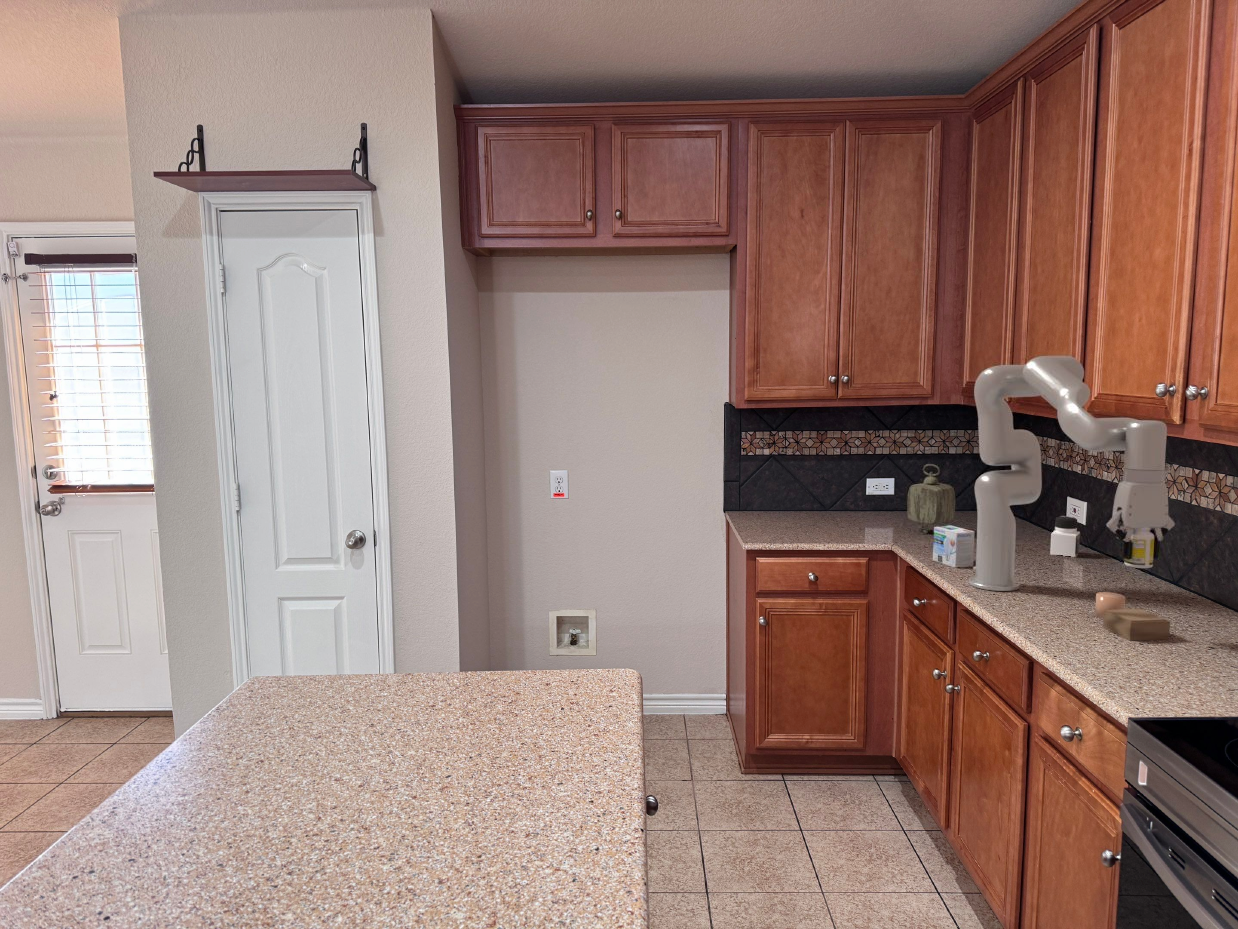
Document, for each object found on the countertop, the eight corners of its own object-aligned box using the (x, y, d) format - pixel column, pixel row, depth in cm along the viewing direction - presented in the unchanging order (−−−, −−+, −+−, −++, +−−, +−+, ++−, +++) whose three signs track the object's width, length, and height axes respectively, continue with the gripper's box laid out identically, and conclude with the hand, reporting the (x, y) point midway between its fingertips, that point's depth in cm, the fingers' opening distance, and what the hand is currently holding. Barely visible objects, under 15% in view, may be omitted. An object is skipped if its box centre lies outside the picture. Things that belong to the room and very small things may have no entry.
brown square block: (1102, 627, 188) (1103, 609, 188) (1140, 626, 189) (1141, 608, 188) (1129, 640, 179) (1130, 621, 179) (1168, 639, 180) (1170, 620, 179)
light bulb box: (932, 560, 255) (933, 526, 254) (950, 558, 257) (951, 524, 256) (955, 568, 245) (957, 532, 244) (974, 566, 247) (975, 531, 246)
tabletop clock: (954, 534, 293) (956, 465, 290) (938, 537, 288) (940, 467, 285) (920, 528, 305) (922, 461, 302) (904, 531, 300) (905, 463, 297)
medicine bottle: (1075, 557, 256) (1077, 519, 254) (1050, 555, 260) (1051, 517, 258) (1079, 553, 261) (1081, 516, 260) (1054, 550, 265) (1055, 514, 264)
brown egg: (1089, 612, 200) (1090, 592, 199) (1113, 611, 200) (1114, 591, 200) (1105, 620, 194) (1106, 599, 193) (1130, 619, 194) (1131, 598, 194)
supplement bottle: (1142, 562, 185) (1144, 519, 184) (1158, 568, 180) (1161, 524, 179) (1118, 563, 185) (1120, 520, 184) (1134, 569, 180) (1136, 525, 178)
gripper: (1168, 473, 184) (1163, 552, 186) (1094, 475, 183) (1090, 555, 185) (1193, 478, 177) (1187, 560, 179) (1117, 480, 176) (1112, 562, 178)
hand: (1138, 556), depth 182 cm, fingers closed on supplement bottle, 5 cm apart
